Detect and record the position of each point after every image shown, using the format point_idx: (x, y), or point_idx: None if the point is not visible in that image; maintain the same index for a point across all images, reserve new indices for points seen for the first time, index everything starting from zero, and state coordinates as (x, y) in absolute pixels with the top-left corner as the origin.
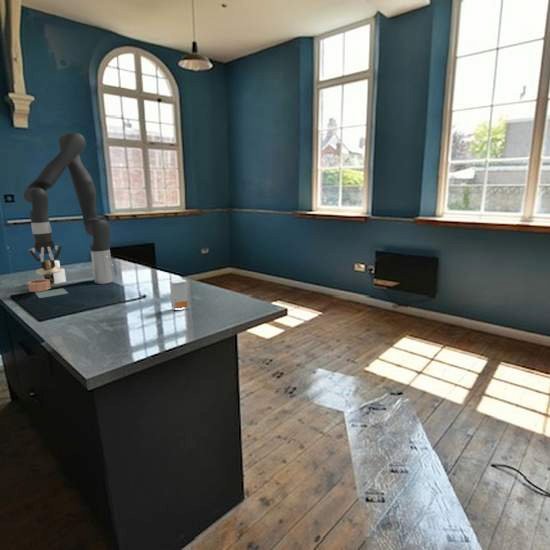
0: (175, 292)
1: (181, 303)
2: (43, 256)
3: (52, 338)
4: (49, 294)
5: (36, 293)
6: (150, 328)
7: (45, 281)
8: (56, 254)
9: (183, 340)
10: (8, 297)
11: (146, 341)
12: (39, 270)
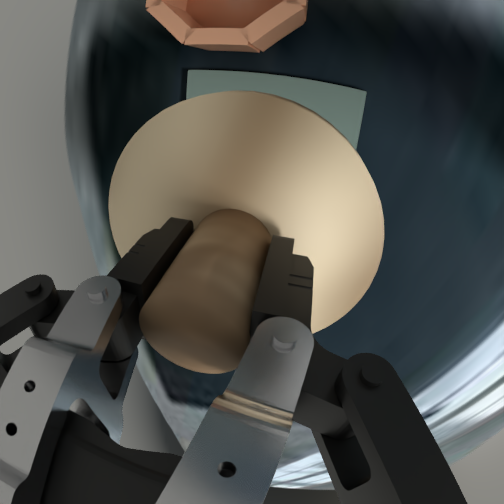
0: None
1: None
2: (117, 422)
3: (184, 441)
4: None
5: (190, 98)
6: (296, 475)
7: (263, 19)
8: (333, 472)
9: (296, 487)
10: (78, 67)
11: None
12: (138, 213)
